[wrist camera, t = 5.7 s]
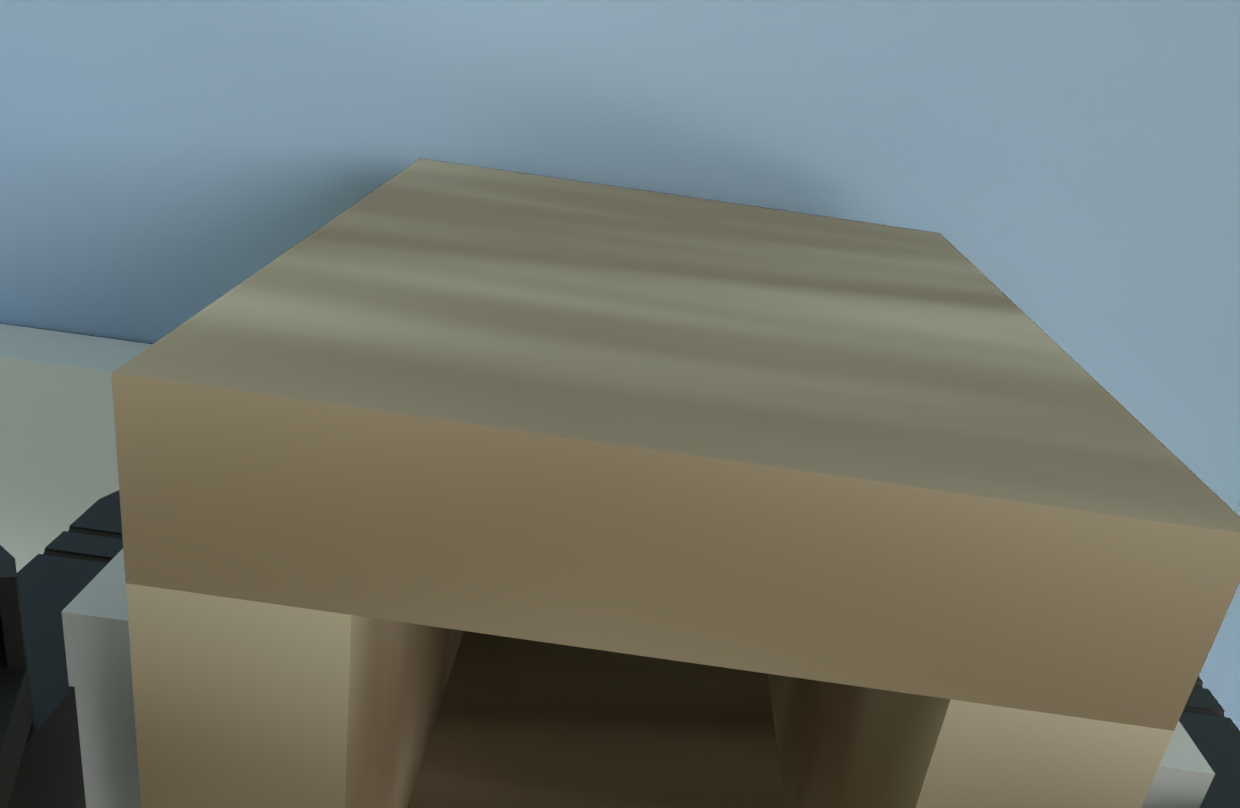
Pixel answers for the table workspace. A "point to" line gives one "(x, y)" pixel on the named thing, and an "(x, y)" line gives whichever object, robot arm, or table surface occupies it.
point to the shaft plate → (54, 432)
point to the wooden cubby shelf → (645, 522)
